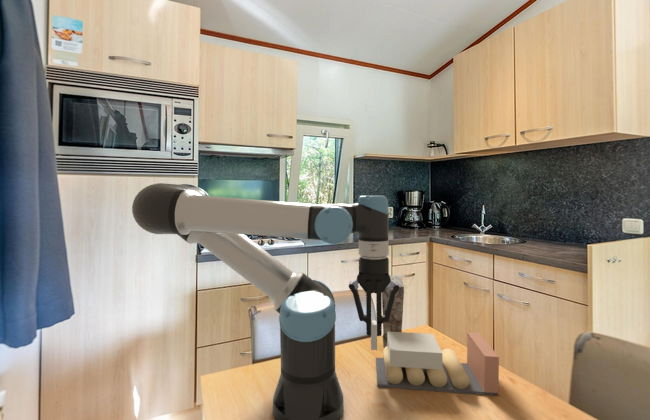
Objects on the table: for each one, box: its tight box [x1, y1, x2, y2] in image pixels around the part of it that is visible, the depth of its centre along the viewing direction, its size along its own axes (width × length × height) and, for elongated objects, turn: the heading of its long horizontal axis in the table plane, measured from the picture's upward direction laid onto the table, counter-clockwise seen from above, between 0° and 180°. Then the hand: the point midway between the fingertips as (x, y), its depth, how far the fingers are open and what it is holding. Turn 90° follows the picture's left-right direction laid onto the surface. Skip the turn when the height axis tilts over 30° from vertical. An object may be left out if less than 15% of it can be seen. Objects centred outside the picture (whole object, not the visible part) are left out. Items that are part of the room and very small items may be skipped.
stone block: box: [381, 274, 405, 349], centre depth 93 cm, size 13×7×20 cm, turn 176°
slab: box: [387, 331, 442, 370], centre depth 77 cm, size 12×10×4 cm
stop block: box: [466, 332, 500, 396], centre depth 75 cm, size 3×12×9 cm, turn 172°
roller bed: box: [375, 346, 499, 396], centre depth 77 cm, size 27×12×5 cm, turn 82°
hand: (374, 347), depth 79 cm, fingers closed
